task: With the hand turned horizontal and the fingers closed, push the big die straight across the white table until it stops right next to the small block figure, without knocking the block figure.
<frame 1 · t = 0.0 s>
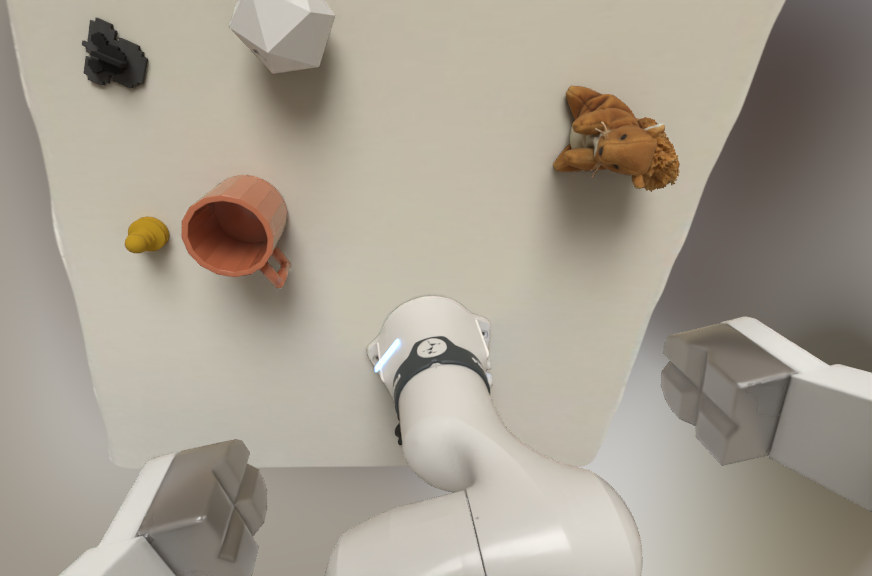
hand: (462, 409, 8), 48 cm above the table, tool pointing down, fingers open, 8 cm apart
chess piece: (152, 231, 52), on the table
mug: (249, 211, 53), on the table
stuffed squirrel: (599, 136, 55), on the table
block figure: (116, 58, 44), on the table
die: (290, 25, 45), on the table
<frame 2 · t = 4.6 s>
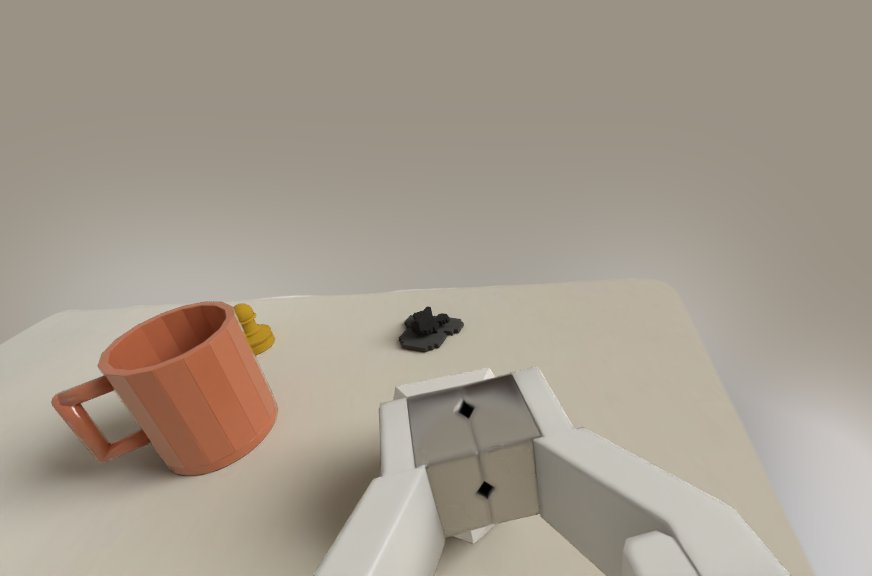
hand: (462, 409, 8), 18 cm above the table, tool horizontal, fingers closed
chess piece: (256, 346, 46), on the table
mug: (223, 429, 35), on the table
block figure: (428, 334, 42), on the table
die: (466, 495, 26), on the table
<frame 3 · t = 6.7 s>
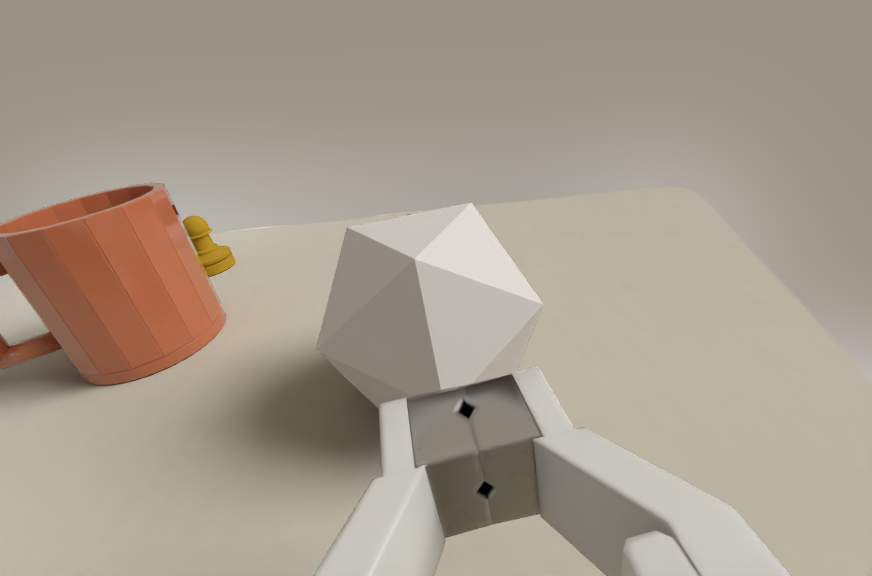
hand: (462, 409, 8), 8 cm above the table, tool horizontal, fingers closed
chess piece: (214, 269, 40), on the table
mug: (158, 340, 29), on the table
die: (444, 387, 20), on the table
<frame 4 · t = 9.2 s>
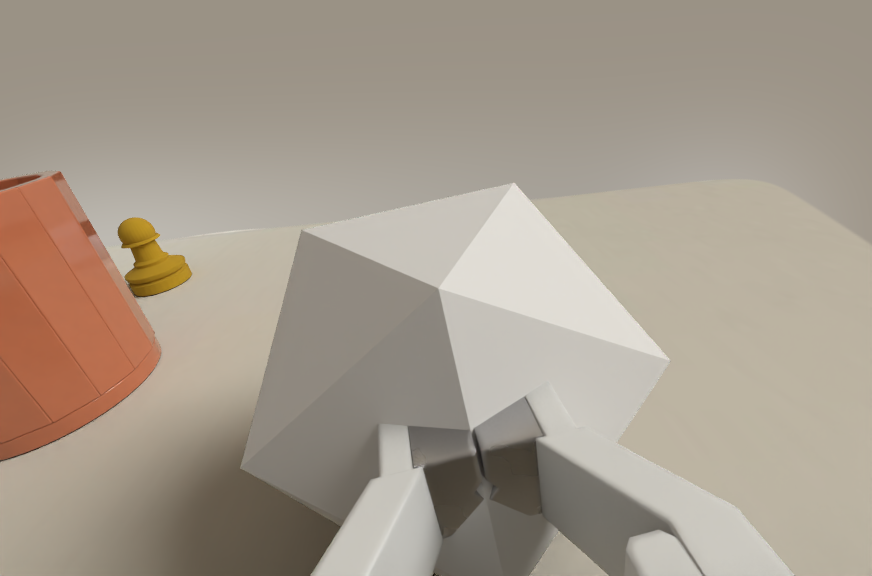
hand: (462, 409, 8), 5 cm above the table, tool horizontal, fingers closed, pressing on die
chess piece: (164, 285, 32), on the table
mug: (64, 389, 21), on the table
die: (470, 482, 13), on the table, touching gripper
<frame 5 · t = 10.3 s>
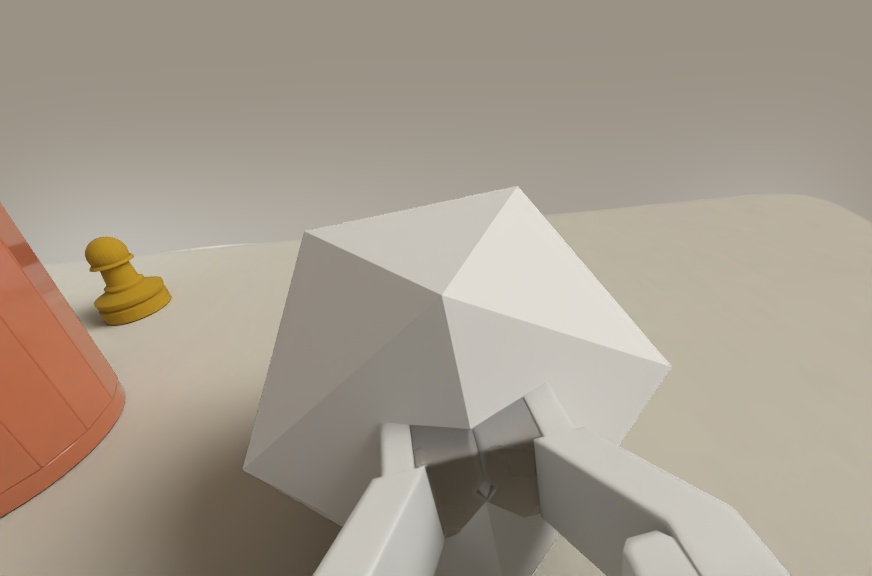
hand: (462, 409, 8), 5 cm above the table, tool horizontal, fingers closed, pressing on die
chess piece: (140, 310, 28), on the table
mug: (6, 450, 18), on the table
die: (470, 483, 13), on the table, touching gripper
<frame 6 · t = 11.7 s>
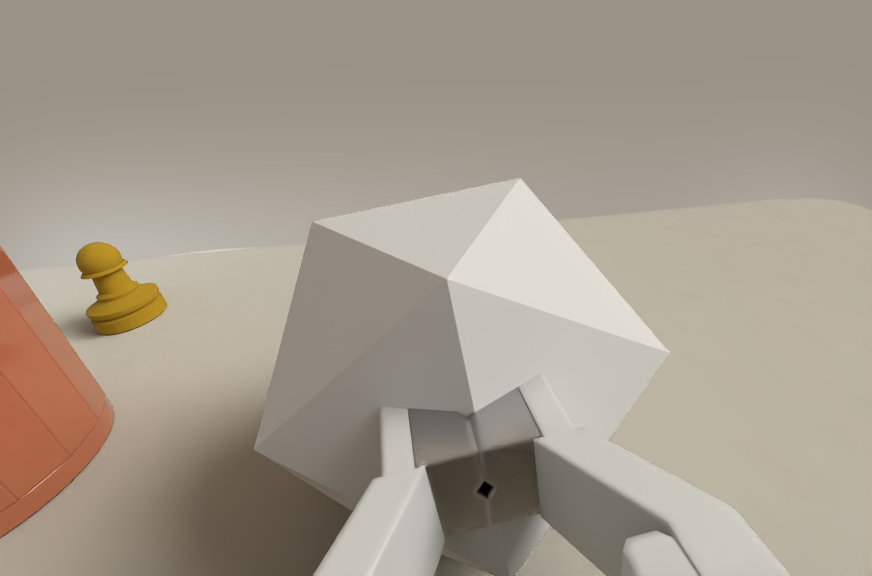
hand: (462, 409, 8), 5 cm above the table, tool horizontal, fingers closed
chess piece: (135, 319, 27), on the table
die: (473, 470, 13), on the table
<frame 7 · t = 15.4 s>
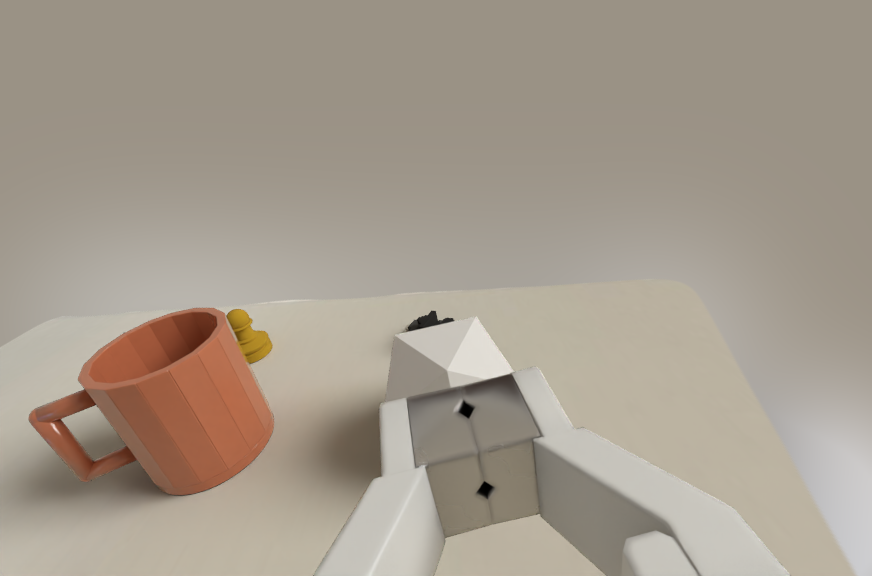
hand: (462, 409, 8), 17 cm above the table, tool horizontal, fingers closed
chess piece: (253, 354, 44), on the table
mug: (216, 443, 33), on the table
block figure: (433, 340, 40), on the table
die: (459, 435, 29), on the table
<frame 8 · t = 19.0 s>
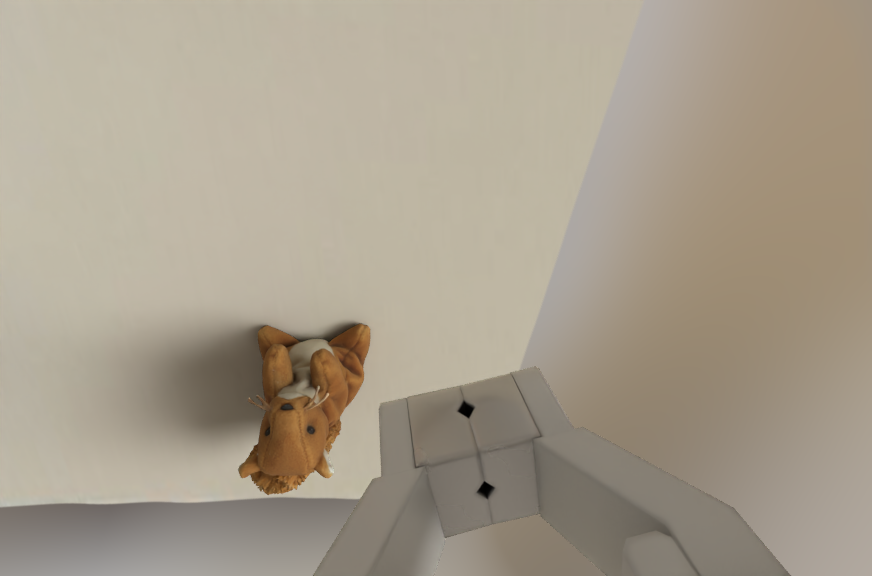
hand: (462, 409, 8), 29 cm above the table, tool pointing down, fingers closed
stuffed squirrel: (313, 372, 42), on the table
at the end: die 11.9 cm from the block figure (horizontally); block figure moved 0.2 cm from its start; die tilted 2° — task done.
